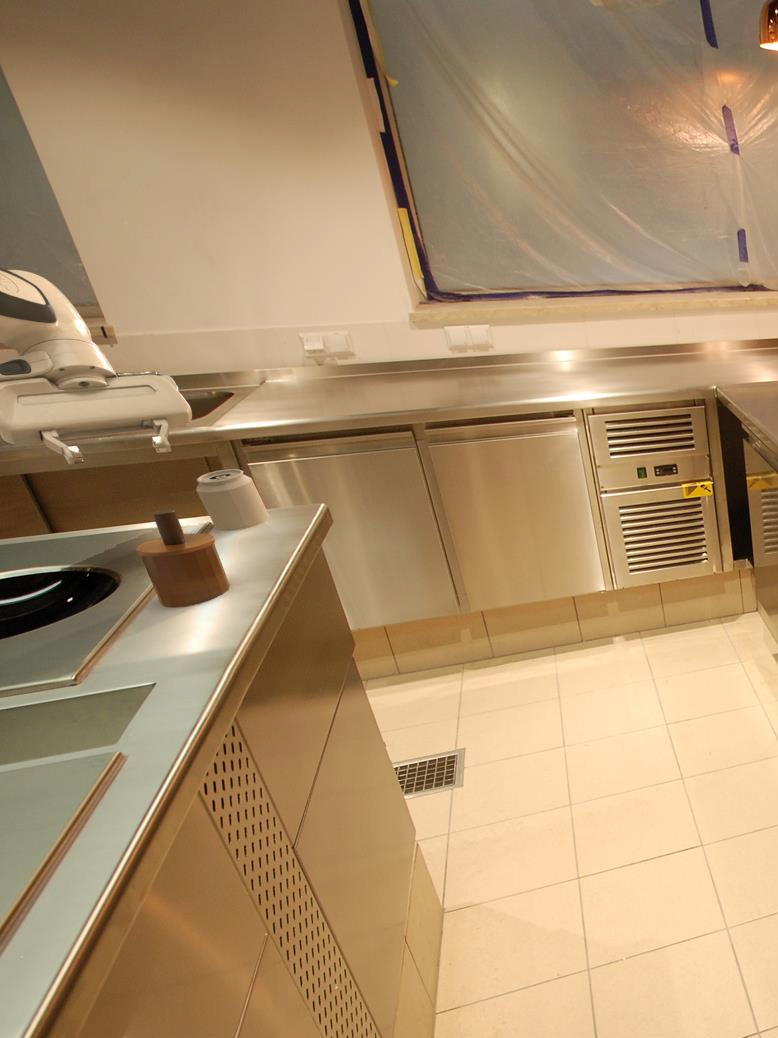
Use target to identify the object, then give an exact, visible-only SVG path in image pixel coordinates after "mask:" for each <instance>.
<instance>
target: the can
mask: <svg viewBox="0 0 778 1038" xmlns="http://www.w3.org/2000/svg"><path fill="white" fill-rule="evenodd" d="M196 482H197V483H198V485H197V486H196V488H195V491H196V493H197V495H198V497H199V499H200V500H201V502H202V504H203V506H204V509H205V510H206V512H207V514H208V516H209V518H210V520H211V522H212V524H213V525H214V527H215V529H216V530H217V531H224V532H225V531H238V530H244V529H249V528H252V527H255V526H258V525H260V524H263V523H264V522H267V521H268V519H270V515H269V512H268V510H267V508H266V506H265V504H264V501H263V500H262V497H261V495H260V494H259V491H258V489H257V487H256V485H255V483H254V481H253V479H252V478H251V477H250V476H247V475H246V474H244V470H241V469H238V468H228V469H220V470H215V471H211V472H207V473H205V474H202V475H200V476H199V477H197V478H196Z"/></svg>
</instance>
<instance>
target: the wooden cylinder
mask: <svg viewBox="0 0 778 1038" xmlns="http://www.w3.org/2000/svg"><path fill="white" fill-rule="evenodd" d="M140 557H141V560H142V562H143V564H144V567H145V569H146V572H147V574H148V577H149V579H150V581H151V585H152V586H153V589H154V591H155V594H156V596H157V599H158V602H159V604H160V605H162V606H163V607H164V608H169V609H176V608H186V607H192V606H195V605H200V604H203V603H207V602H210V601H212V600H214V599H216V598H218V596H219V597H221V596H222V595H224V594H226V592H228V591H229V590H230V588H231V587H230V586H231V584H230V582H229V579H228V577H227V574H226V571H225V568H224V566H223V563H222V561H221V558H220V555H219V553H218V550H217V546H216V544H215V543H214V544H212V545H211V546H209V547H206V548H203V549H200V550H197V551H193V552H189V553H183V554H178V555H170V556H155V557H152V556H142V555H140Z"/></svg>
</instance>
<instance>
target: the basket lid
mask: <svg viewBox="0 0 778 1038" xmlns="http://www.w3.org/2000/svg"><path fill="white" fill-rule="evenodd" d="M151 514H152V517H153V520H154V522H155V525H156V528H157V530H158V532H159V535H160V537H158V538H154V539H151V540H148V541H144V542H143V543H141V544H139V545H137V546H136V547H135V552H136V554H137V555H140V556H141V555H142V556H152V557H155V556H170V555H178V554H183V553H189V552H193V551H197V550H200V549H203V548H206V547H209V546H211V545H212V544H215V543H216V539H215V536H214V535H212V534H209V533H185V532H184V530H183V528H182V525H181V523H180V520H179V518H178V515H177V512H176V510H175V509H173V508H172V509H171V508H168V509H167V508H166V509H158V510H155V511H152V512H151Z"/></svg>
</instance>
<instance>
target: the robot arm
mask: <svg viewBox="0 0 778 1038" xmlns="http://www.w3.org/2000/svg"><path fill="white" fill-rule="evenodd" d="M1 346H5V347H8V348H11V349H13V350H15V351H16V353H17V354H18V357H14V358H11V359H8V360H4V361H0V437H1V438H2V440H3V441H5V442H7V443H9V444H11V445H13V446H22V445H31V444H39V443H44V445H45V446H46V448H47V449H49V450H51V451H54V452H55V453H58V454H59V455H61V456H63V457H64V458H65V460H66V461H67V464H69V465H75V464H84V463H85V461H84V456H83V454H82V452H81V451H80V449H79V447H78V446H77V445H72V446H68V444H65V443H64V442H62V441H66V440H75V439H84V438H94V437H102V436H110V435H111V436H112V435H120V434H129V433H130V434H131V433H139V432H148V431H154V432H155V434H156V435H157V436H151V441H152V446H153V448H154V449H155V451H156V453H157V454H162V453H170V452H172V448H171V447H172V446H171V443H170V442H169V440H168V437H169V431H170V430H169V429H175V428H184V427H188V426H189V425H190V423H191V421H192V420H193V412H192V408H191V405H190V404H189V403H188V401H187V400H186V398H185V397H184V396H183V394H181V392H180V391H179V387H178V384H177V383H176V381H175V380H174V379H173V377H172V376H170V375H167V374H164V373H161V372H157V371H155V370H143V371H126V372H125V371H124V372H116V371H115V370H114V368H113V366H112V365H111V363H110V362H109V361H110V360H108V358H107V356H106V354H105V353H104V352H103V350H102V349H101V348H100V346H98V345H97V344H96V343H95V342H94V341H93V339H92V333H91V331H90V328H89V327H88V325H87V323H86V322H85V320H84V319H83V317H82V316H81V315H80V313H79V312H78V310H77V308H75V306H74V305H73V304H72V302H71V301H70V299H68V298H67V296H65V294H64V293H63V292H62V291H61V290H60V289H59V288H58V287H57V286H56V285H54V283H52V282H51V281H49V280H48V279H46V278H45V277H43V276H41V275H38V274H36V273H33V272H29V271H26V270H20V269H5V268H3V267H0V347H1Z"/></svg>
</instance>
